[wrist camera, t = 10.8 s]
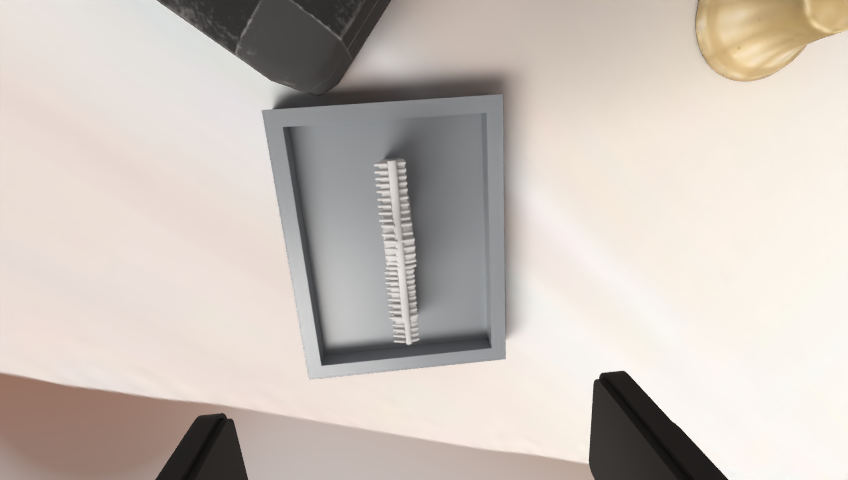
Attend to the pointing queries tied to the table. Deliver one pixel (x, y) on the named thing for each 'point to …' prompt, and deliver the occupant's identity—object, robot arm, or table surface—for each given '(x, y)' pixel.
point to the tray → (362, 233)
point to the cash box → (287, 35)
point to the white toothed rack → (398, 247)
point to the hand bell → (763, 33)
